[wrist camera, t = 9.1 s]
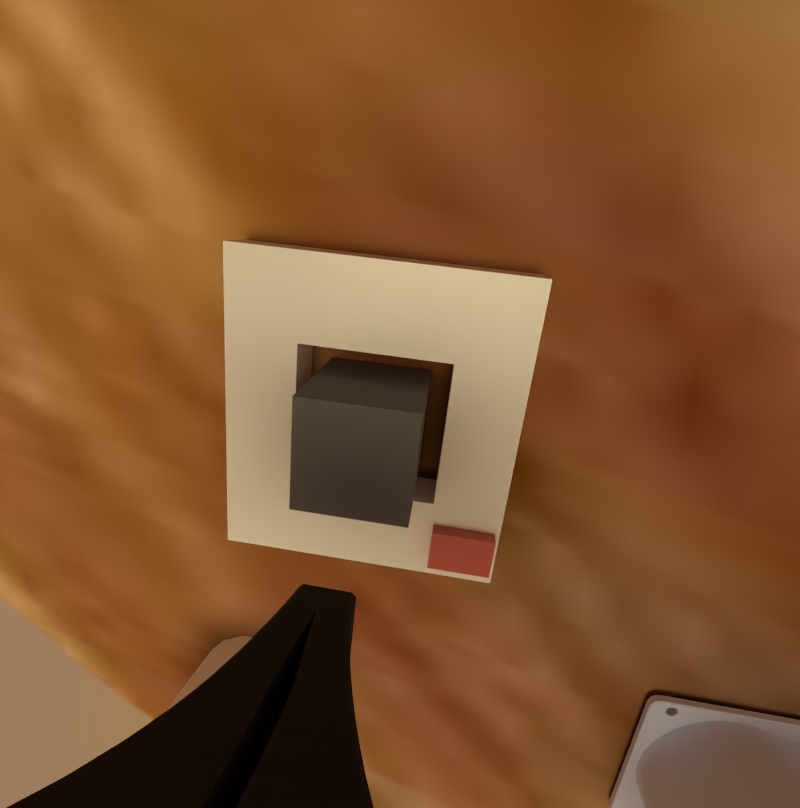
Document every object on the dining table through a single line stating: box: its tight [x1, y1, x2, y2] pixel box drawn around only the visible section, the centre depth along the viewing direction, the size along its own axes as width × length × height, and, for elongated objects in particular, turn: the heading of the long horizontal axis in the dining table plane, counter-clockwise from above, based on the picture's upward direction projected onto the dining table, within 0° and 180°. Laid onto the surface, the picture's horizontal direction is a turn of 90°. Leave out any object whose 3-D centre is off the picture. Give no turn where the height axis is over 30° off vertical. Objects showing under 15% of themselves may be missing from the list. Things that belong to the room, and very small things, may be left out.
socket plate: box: [223, 240, 552, 583], centre depth 19 cm, size 11×12×3 cm
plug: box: [289, 357, 432, 528], centre depth 18 cm, size 4×4×5 cm
